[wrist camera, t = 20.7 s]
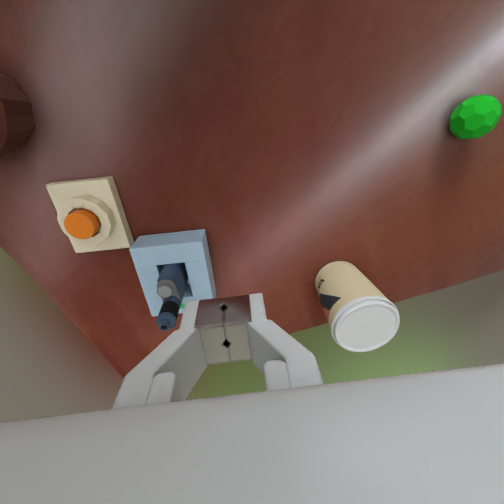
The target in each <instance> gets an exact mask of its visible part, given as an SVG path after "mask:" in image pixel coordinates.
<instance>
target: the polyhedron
mask: <svg viewBox="0 0 504 504" xmlns="http://www.w3.org/2000/svg"><path fill="white" fill-rule="evenodd" d="M501 114H502V111H501V104H500V103H499V101H498V100H497V99H496V98H494V97H492V96H490V95H477V96H472V97H470V98H468V99H467V100H465V101H464V102H462V103H461V104H460V105H458V106H457V107H456V108H455V109H454V111H453V112H452V114H451V116H450V120H449V129H450V131H451V132H452V133H453V134H454V135H455V136H456V137H458V138H459V139H473V138H479V137H481V136H482V135H484V134H486V133H487V132H489V131H491V130H492V129H493V128H494V127H495V125H496V124H497V122H498V121H499V119H500V116H501Z"/></svg>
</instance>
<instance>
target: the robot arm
mask: <svg viewBox="0 0 504 504" xmlns="http://www.w3.org/2000/svg"><path fill="white" fill-rule="evenodd" d="M249 297H250V298H249ZM240 360H252V361H253V362H254V363H255V365H256V366H257V367H258V368H259V369H260V371H261V372H262V374H263V375H264V376H265V381H266V391H262V392H253V393H244V394H237V395H228V396H219V397H211V398H203V399H194V400H185V399H186V397H187V395H188V394H189V393H190V391H191V390H192V388H193V387H194V385H195V384H196V382H197V381H198V379H199V377H200V376H201V375H202V373H203V372H204V370H205V369H206V367H207V365H208V364H215V363H221V362H228V361H240ZM184 400H185V401H184ZM0 504H504V363H500V364H491V365H483V366H474V367H466V368H458V369H449V370H440V371H432V372H423V373H415V374H407V375H398V376H390V377H381V378H373V379H364V380H356V381H347V382H339V383H331V384H324V382H323V379H322V376H321V374H320V371H319V368H318V365H317V362H316V359H315V356H314V354H312V353H311V352H310V351H309V350H308V349H306V348H305V347H304V346H303V345H301V344H300V343H299V342H298V341H296V340H295V339H294V338H293V337H291V336H290V335H289V334H288V333H286V332H285V331H284V330H283V329H281V328H280V327H279V326H278V325H277V324H275V323H274V322H273V321H272V320H267V318H266V312H265V306H264V300H263V294H262V293H256V294H249V295H244V296H235V297H227V298H213V299H202V300H193V301H187V302H186V304H185V308H184V312H183V316H182V320H181V324H180V327H179V330H175V331H174V332H173V333H172V334H171V335H170V336H168V337H167V338H166V339H165V340H164V341H163V342H162V343H161V344H160V345H159V346H158V347H156V348H155V349H154V350H153V351H152V352H151V353H150V354H149V355H148V356H147V357H145V358H144V359H143V360H142V361H141V362H140V363H139V364H138V365H137V366H136V367H135V368H133V369H132V370H131V371H130V372H129V373H128V374H127V375H126V376H125V378H124V380H123V383H122V385H121V387H120V390H119V392H118V394H117V397H116V399H115V402H114V404H113V406H112V409H109V410H100V411H92V412H83V413H75V414H66V415H58V416H49V417H41V418H33V419H24V420H15V421H7V422H0Z"/></svg>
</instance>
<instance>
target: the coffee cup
mask: <svg viewBox="0 0 504 504" xmlns="http://www.w3.org/2000/svg"><path fill="white" fill-rule="evenodd" d="M315 286H316V290H317V293H318V296H319V299H320V302H321V304H322V307H323V310H324V313H325V316H326V318H327V321H328V324H329V326H330V329H331V334H332V337H333V339H334V340H335V342H336V343H338V345H340V346H341V347H343V348H344V349H346V350H349V351H353V352H366V351H371V350H374V349H376V348H379V347H381V346H383V345H384V344H386V343H387V342H388V341H390V340H391V339H392V338H393V336H394V335H395V334H396V332H397V330H398V328H399V324H400V319H399V313H398V310H397V308H396V306H395V305H394V304H393V303H392V302H391V301H389V300H388V299H387V298H386V297H385V296H384V295H383V294H382V293H381V292H380V291H379V290H378V289H377V288H376V287H375V286H374V285H373V284H372V283H371V282H370V281H369V280H368V279H367V278H366V277H365V276H364V275H363V274H362V273H361V272H360V271H359V270H358V269H357V268H356V267H355V266H354V265H353V264H351V263H349V262H345V261H335V262H332V263H329V264H327V265H326V266H324V267H323V268H322V269H321V270H320V271H319V272H318V274H317V276H316V279H315Z"/></svg>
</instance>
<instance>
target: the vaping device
mask: <svg viewBox="0 0 504 504" xmlns="http://www.w3.org/2000/svg"><path fill="white" fill-rule="evenodd" d="M187 281H188V274H187V270H186V266H185V262H183V263H174V264H165V265H164V267H163V269H162V271H161V273H160V276H159V278H158V280H157V282H158V283H157V294H158V295H159V296H160V297H161V298H162V301H163V304H162V306H161V309H160V312H159V314H158V317H157V320H156V323H157V325H158V326H159V327H160V329H161V330H162V331H167V330H168V329H171V328H173V327H174V326H175V324H176V320H177V316H178V313H179V309H180V306H181V304H182V300H183V296H184V292H185V289H186V285H187Z"/></svg>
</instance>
